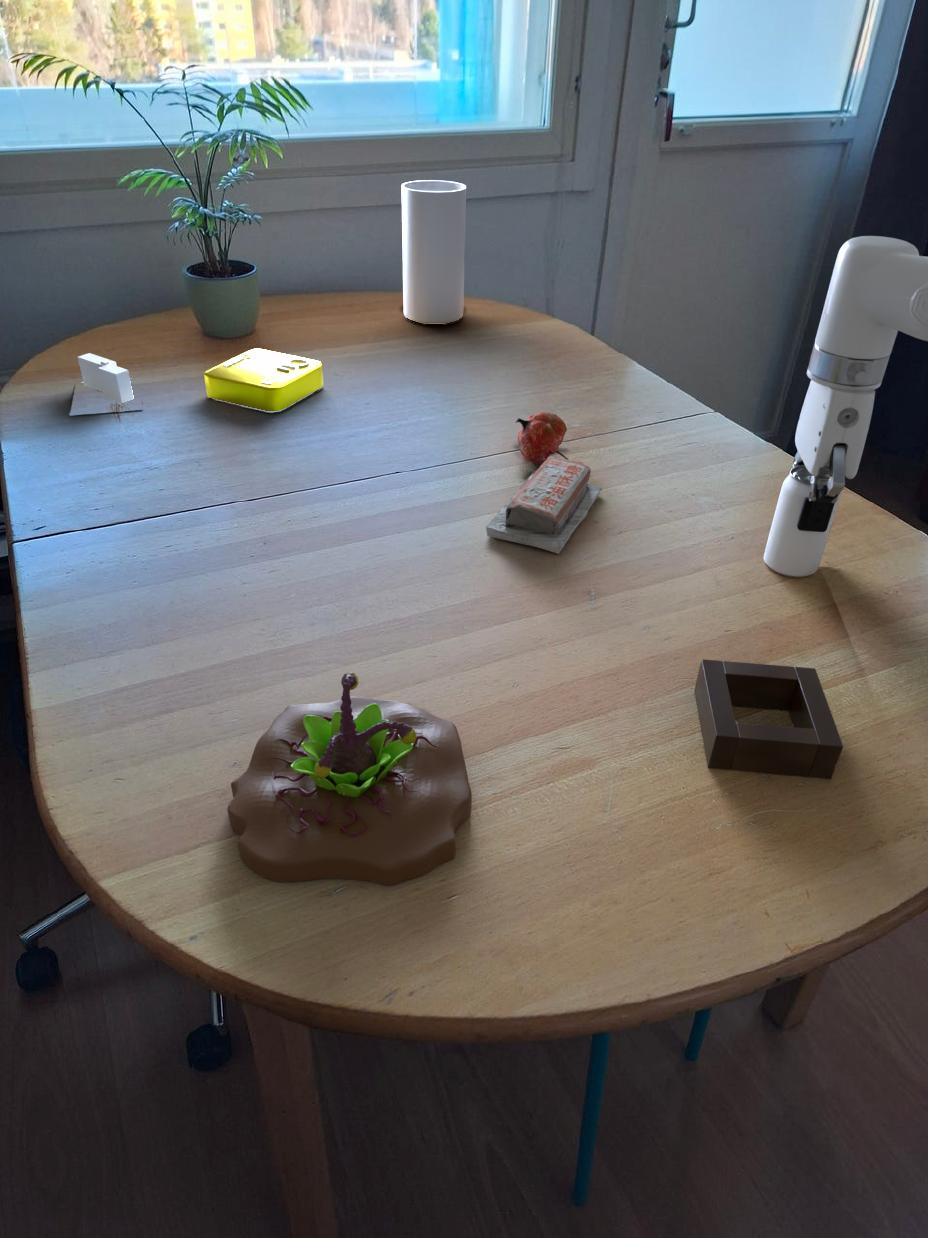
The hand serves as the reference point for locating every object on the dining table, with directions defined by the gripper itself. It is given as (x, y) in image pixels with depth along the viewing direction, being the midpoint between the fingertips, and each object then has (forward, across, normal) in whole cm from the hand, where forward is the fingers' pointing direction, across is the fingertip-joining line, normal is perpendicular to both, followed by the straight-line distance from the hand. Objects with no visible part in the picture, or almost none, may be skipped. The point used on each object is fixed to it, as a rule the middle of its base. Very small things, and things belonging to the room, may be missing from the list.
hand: (804, 513), depth 102 cm
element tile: (+7, +44, +78) cm, 90 cm away
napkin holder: (+7, +38, +103) cm, 110 cm away
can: (+7, 0, 0) cm, 7 cm away
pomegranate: (+7, +25, +31) cm, 40 cm away
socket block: (+7, -31, +9) cm, 33 cm away
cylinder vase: (+7, +91, +56) cm, 107 cm away
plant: (+7, -43, +45) cm, 63 cm away
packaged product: (+7, +8, +30) cm, 32 cm away
